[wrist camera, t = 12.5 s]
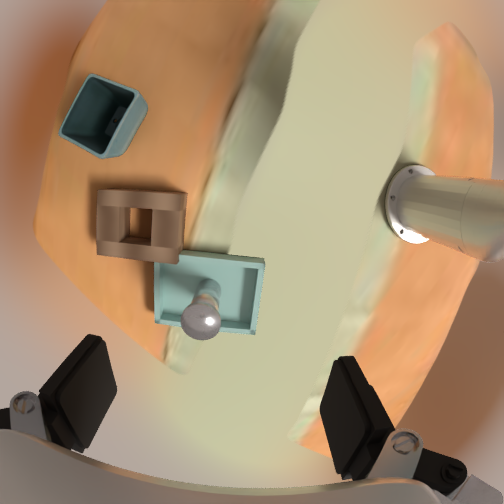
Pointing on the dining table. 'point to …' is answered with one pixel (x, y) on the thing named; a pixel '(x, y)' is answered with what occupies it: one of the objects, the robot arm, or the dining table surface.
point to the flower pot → (104, 117)
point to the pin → (203, 311)
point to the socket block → (163, 224)
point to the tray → (221, 270)
